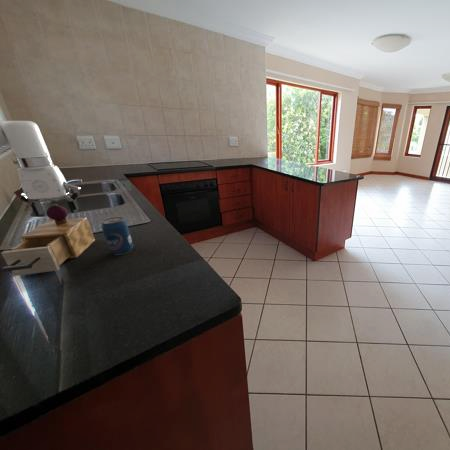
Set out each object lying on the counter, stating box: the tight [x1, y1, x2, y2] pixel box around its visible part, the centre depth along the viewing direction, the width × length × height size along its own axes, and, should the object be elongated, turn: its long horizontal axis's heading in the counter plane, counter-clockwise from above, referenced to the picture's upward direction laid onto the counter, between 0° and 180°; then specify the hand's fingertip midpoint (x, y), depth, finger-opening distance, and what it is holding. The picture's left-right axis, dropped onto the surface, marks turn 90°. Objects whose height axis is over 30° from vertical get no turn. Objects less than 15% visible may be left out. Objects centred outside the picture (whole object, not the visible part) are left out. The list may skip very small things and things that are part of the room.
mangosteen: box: [46, 203, 69, 224], centre depth 82 cm, size 5×5×7 cm
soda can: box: [101, 216, 134, 256], centre depth 82 cm, size 7×7×12 cm
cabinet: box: [20, 217, 96, 260], centre depth 83 cm, size 14×12×10 cm
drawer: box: [0, 235, 72, 277], centre depth 72 cm, size 18×10×8 cm, turn 18°
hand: (58, 212), depth 82 cm, fingers open, 9 cm apart
